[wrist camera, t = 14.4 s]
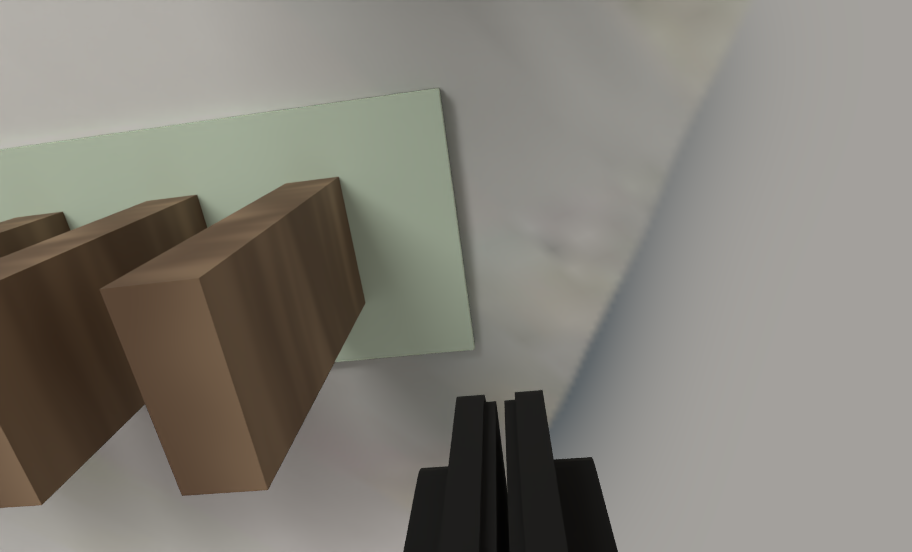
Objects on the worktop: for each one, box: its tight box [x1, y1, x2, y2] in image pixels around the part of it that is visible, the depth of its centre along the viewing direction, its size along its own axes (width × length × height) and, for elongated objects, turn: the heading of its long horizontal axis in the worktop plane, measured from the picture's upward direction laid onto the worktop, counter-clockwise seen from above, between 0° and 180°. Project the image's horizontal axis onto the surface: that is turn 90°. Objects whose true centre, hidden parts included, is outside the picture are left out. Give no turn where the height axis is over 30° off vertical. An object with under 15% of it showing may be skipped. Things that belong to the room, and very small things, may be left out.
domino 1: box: [0, 195, 207, 508], centre depth 19 cm, size 2×6×12 cm, turn 7°
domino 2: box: [99, 177, 366, 496], centre depth 19 cm, size 2×6×12 cm, turn 7°
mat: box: [0, 88, 475, 362], centre depth 26 cm, size 38×12×1 cm, turn 97°
